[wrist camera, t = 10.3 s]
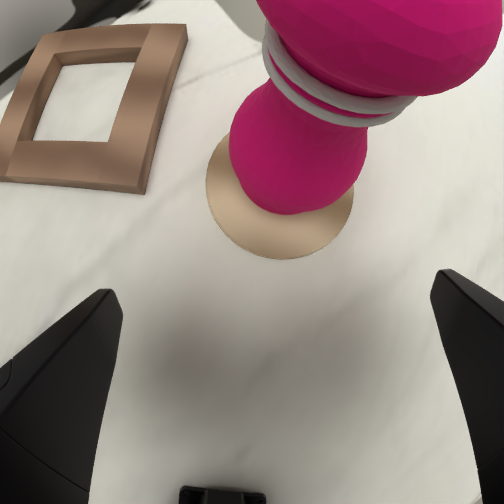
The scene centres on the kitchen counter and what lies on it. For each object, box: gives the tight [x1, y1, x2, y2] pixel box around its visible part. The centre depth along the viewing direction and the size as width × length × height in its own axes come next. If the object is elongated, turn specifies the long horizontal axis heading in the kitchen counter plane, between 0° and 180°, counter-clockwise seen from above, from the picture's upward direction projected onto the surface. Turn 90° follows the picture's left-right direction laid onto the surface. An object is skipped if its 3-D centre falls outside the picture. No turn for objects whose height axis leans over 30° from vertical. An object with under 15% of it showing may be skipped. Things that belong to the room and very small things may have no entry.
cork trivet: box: [206, 132, 354, 259], centre depth 21 cm, size 10×10×1 cm
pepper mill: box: [228, 0, 502, 215], centre depth 11 cm, size 7×7×20 cm
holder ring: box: [0, 24, 188, 195], centre depth 20 cm, size 14×14×2 cm
